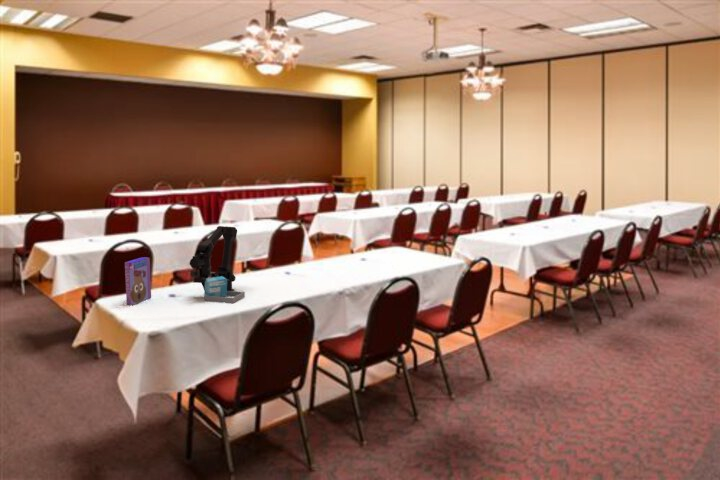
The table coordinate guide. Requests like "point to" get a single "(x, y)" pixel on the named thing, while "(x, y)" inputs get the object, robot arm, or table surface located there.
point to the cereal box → (138, 280)
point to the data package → (216, 287)
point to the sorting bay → (235, 298)
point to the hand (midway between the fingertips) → (205, 291)
